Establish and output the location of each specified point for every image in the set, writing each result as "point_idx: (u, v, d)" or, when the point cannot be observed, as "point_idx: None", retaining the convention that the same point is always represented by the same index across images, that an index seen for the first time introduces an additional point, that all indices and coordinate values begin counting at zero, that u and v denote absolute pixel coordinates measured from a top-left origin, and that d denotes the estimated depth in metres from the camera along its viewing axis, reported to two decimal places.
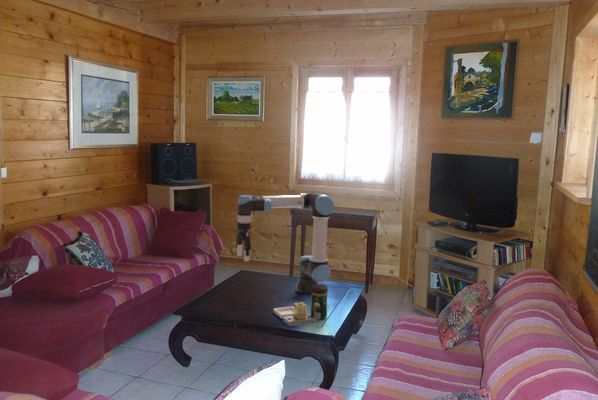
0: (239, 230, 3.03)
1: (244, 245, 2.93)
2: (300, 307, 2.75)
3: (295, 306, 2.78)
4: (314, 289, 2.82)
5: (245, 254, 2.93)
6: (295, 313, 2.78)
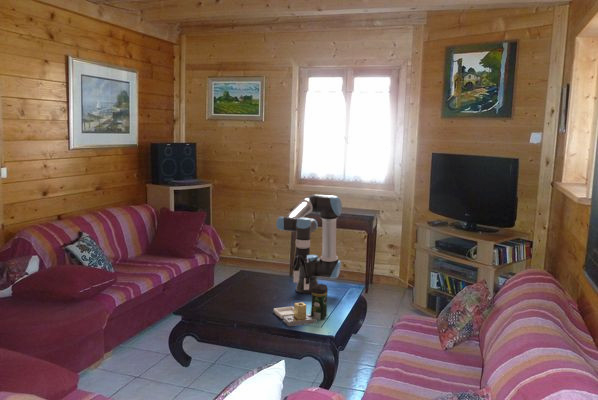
0: (296, 255, 2.80)
1: (304, 272, 2.70)
2: (300, 307, 2.75)
3: (295, 306, 2.78)
4: (314, 289, 2.82)
5: (305, 282, 2.69)
6: (295, 313, 2.78)
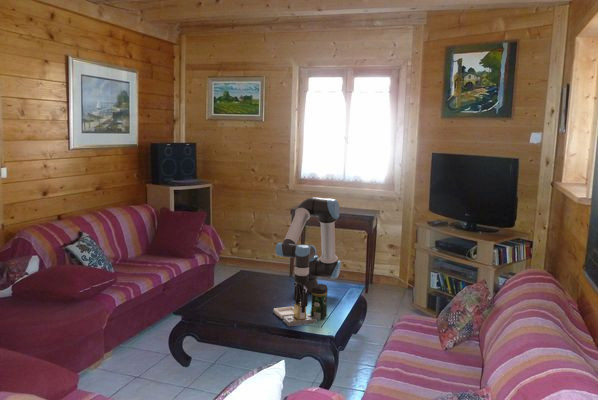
0: (295, 284, 2.81)
1: (300, 300, 2.75)
2: None
3: (295, 306, 2.78)
4: (314, 289, 2.82)
5: (301, 311, 2.75)
6: (295, 313, 2.78)
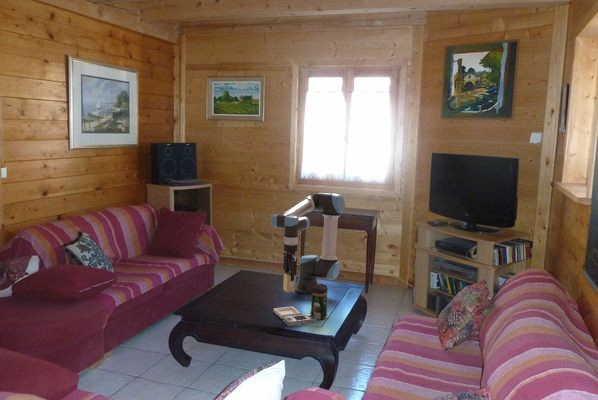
0: (285, 254, 2.90)
1: (289, 269, 2.84)
2: None
3: (284, 275, 2.87)
4: (314, 289, 2.82)
5: (290, 279, 2.84)
6: (285, 282, 2.87)
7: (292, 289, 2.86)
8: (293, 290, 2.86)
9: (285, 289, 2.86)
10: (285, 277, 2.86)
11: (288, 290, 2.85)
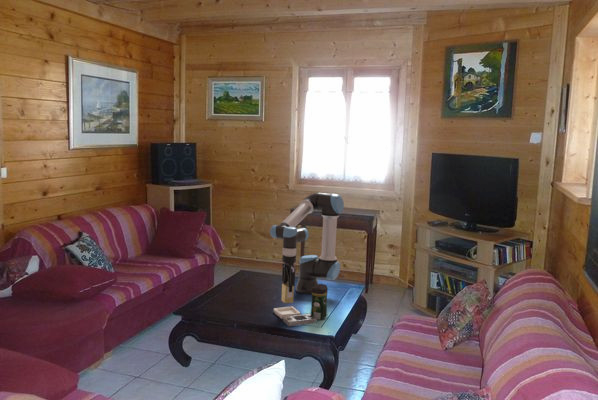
0: (283, 265, 2.91)
1: (288, 280, 2.85)
2: None
3: (283, 286, 2.88)
4: (314, 289, 2.82)
5: (288, 290, 2.85)
6: (283, 292, 2.88)
7: (290, 300, 2.87)
8: (291, 301, 2.87)
9: (283, 300, 2.87)
10: (283, 288, 2.87)
11: (286, 301, 2.86)
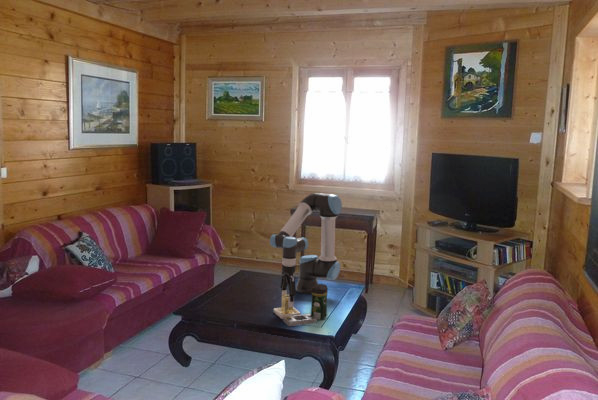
0: (283, 273, 2.92)
1: None
2: (287, 299, 2.86)
3: (282, 298, 2.89)
4: (314, 289, 2.82)
5: (289, 300, 2.84)
6: (283, 305, 2.89)
7: (290, 312, 2.88)
8: (291, 313, 2.88)
9: (283, 312, 2.88)
10: (283, 300, 2.88)
11: (286, 313, 2.87)
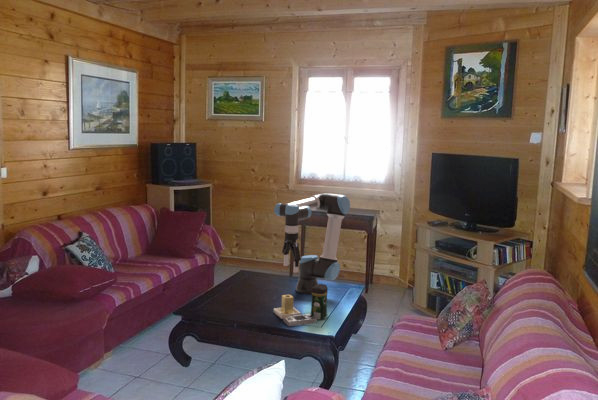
0: (286, 240, 2.96)
1: (293, 256, 2.87)
2: (287, 299, 2.86)
3: (282, 298, 2.89)
4: (314, 289, 2.82)
5: (294, 265, 2.86)
6: (283, 305, 2.89)
7: (290, 312, 2.88)
8: (291, 313, 2.88)
9: (283, 312, 2.88)
10: (283, 300, 2.88)
11: (286, 313, 2.87)
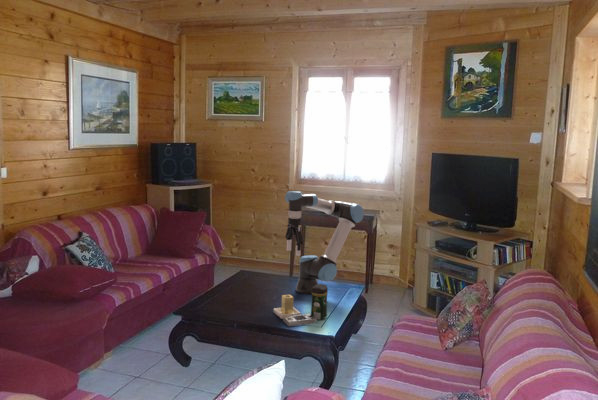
0: (289, 225, 3.09)
1: None
2: (287, 299, 2.86)
3: (282, 298, 2.89)
4: (314, 289, 2.82)
5: (297, 249, 2.98)
6: (283, 305, 2.89)
7: (290, 312, 2.88)
8: (291, 313, 2.88)
9: (283, 312, 2.88)
10: (283, 300, 2.88)
11: (286, 313, 2.87)
